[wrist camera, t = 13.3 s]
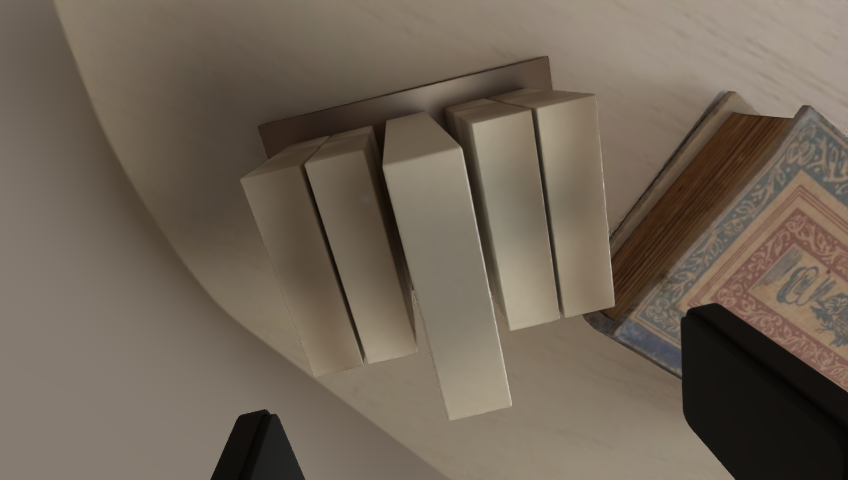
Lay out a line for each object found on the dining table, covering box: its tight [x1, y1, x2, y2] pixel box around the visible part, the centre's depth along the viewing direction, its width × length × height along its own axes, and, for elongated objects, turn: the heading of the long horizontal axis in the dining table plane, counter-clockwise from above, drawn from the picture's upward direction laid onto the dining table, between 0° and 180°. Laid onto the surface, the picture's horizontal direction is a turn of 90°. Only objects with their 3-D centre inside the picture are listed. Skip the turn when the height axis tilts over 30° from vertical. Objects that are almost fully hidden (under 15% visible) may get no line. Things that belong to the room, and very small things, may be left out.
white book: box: [382, 112, 512, 421], centre depth 23 cm, size 2×10×15 cm, turn 13°
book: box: [582, 91, 848, 392], centre depth 32 cm, size 17×7×25 cm
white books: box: [240, 56, 615, 377], centre depth 25 cm, size 18×13×11 cm
